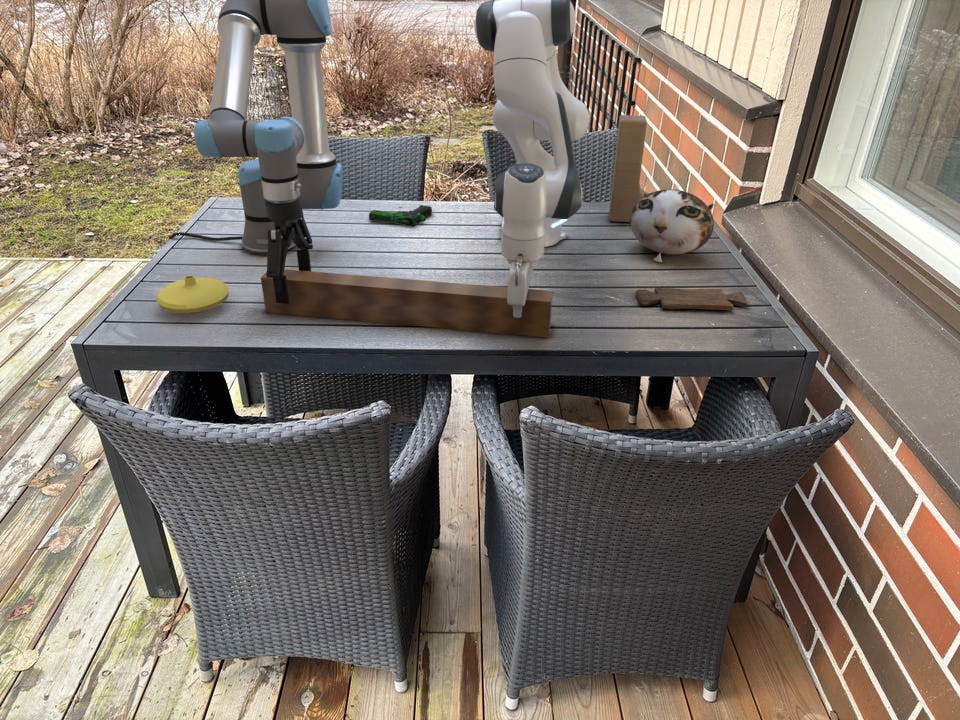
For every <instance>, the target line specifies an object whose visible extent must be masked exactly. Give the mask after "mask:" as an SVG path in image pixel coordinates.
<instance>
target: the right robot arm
mask: <svg viewBox="0 0 960 720" xmlns="http://www.w3.org/2000/svg"><path fill="white" fill-rule="evenodd" d="M475 14H476V15H475V18H474V33H475V37H476V39H477V41H478V44H479V46H480V47H481V48H482V49H484V51H487V52H492V53H493V65H492V67H493V70H492V71H493V85H494V93H495V95H496V97H497V101H496V102H495V104H494V107H493V111H492V121H493V124H494V127H495V129H496V130H497V132H499V133H500V134H501V135H502V136H503V137H504V139H505V140H506V141H507V142H508V145H509V146H510V148H511V150H512V153H513V156H514V158H515V164H513V165H511V166H510V167H509V168H508V169H507V171H503V173H501V174H500V175H499V176H498V177H497V178H496V179H495V181H494V182H493V186H494V191H495V192H494V202H493V210H494V211H495V212H496V213H497V214H498V215H499V216H500V217H501V218H503V220H502V221H501V228H500V229H501V230H500V232H501V233H500V241H501V243H500V244H501V247H500V248H501V249H500V250H501V251H500V253H501V255H502V257H503V258H505V259H506V262H507V264H509V265H510V267H509V271H508V278H507V287H508V291H507V303H508V305H511V306H513V317H516V318H520V317H521V316H522V306H524V305H525V301H526V297H527V293H528V289H530V285H531V280H532V276H533V272H534V268H535V265H536V264H537V263H538V260H540V259H542V258H543V257H544V255H545V248H547V247H551V246H554V245H556V244H558V243H559V242H560V241H561V240H565V239H566V238H567V234H566V233H565V232H564V231H563V230H562V224H563V223H565V222H566V221H568V219H570V218H571V217H573V216H574V215H575V214H576V213H577V212H579V210H580V209H581V207H582V203H583V196H584V195H583V187H582V183H581V180H580V175H579V172H578V168H577V163H576V158H575V152H574V146H573V142H577V141H580V140H581V139H582V138H583V137H584V136H585V134H586V133H587V132H588V129H589V125H590V113H589V110H588V108H587V106H586V104H585V103H584V102H582V101H581V100H579V99H578V97H576V96H575V95H574V94H572V92H570V90H569V89H568V88H567V86H566V84H565V83H564V82H563V80H562V77H561V75H560V70H559V65H558V56H557V47H559V46H562V45H564V44H566V43H568V42H569V41H570V40H571V38H572V37H573V33H574V31H575V27H576V22H577V21H576V20H577V17H576V10H575V7H574V4H573V3H572V0H486V1H484V2H481V4H480V5H479V6H478V8H477V9H476V12H475ZM540 141H546V142H547V141H548V142H550V145H551V151H552V154H551V153H549V152H548V151H546V150H545V149H544V148H543V146H542V144H541V142H540Z"/></svg>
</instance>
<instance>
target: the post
mask: <svg viewBox="0 0 960 720" xmlns="http://www.w3.org/2000/svg"><path fill="white" fill-rule="evenodd" d="M266 274H267V271H266V272H264V274H262V275H261V276H260V283H261V290H262V296H263V297H262V298H263V302H264V309H265V313H271V314H280V315H292V316H304V317H314V318H325V319H335V320H336V319H337V320H346V321H347V320H349V321H357V322H358V321H359V322H369V323H370V322H371V323H379V324H380V323H381V324H393V325H404V326H415V327H425V328H438V329H449V330H458V331H459V330H460V331H470V332H480V333H481V332H482V333H491V334H503V335H504V334H505V335H514V336H526V337H537V338H547V339H548V338H549V337H550V331H551V324H552V312H553V298H554V291H553V290H546V289H545V290H544V289H533V288H529V289H528V293H527V297H526V301H525V305H524V306H522V316H521V317H520V318H516V317H513V306H511V305H508V303H507V291H508V286H496V285H484V284H472V283H459V282H447V281H433V280H422V279H412V278H411V279H410V278H399V277H397V278H396V277H386V276H375V275H374V276H373V275H361V274H349V273H339V272H338V273H336V272H323V271H313V270H311V271H301V270H299V269H289V268H285V269H284V275H286V280H287V287H288V295H289V302H290V303H289V304H282V303H276V297H275V290H274V283H273V278H268V277H267V276H266Z"/></svg>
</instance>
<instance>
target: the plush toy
mask: <svg viewBox="0 0 960 720" xmlns="http://www.w3.org/2000/svg"><path fill="white" fill-rule="evenodd" d="M649 193H650V194H648V195H647V194H644V197H643V198H641V199H640V200H639V201H638V202H637V203H636V205H635V206H634V208H633V210H632V212H631V216H630V222H629V223H630V228H631V231H632V233H633V235H634V236H635V238H636V239H637V240H638V242H639V243H641V245H643V246H644V247H646V248H648V249H649V250H651V251H654V252H656V253H658V254H657V256H656V257H654V258H653V259H652V261H654V262H658V263H663V260H662V256H661V254H663V255H668V256H669V255H670V256H671V255H672V256H680V255H685V254H690V253H693V252H695V251H697V250H698V249H700V248H702V247H703V246H704V245H706V244H707V243H708V241H709V240H710V238H711V237H712V234H713V232H714V229H715V220H714V216H713V213H712V211H711V210H712V209H713V207H714V206H715V205H714V203H711V204H709V205H707V204H706V203H705V202H704V201H703V200H702V199H701V198H699V197H698V196H696V195H694V194H692V193H691V192H687V191H684V190H680V189H674V188H673V189H671V188H669V189H668V188H667V189H659V190H656V191H652V192H649Z"/></svg>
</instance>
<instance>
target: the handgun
mask: <svg viewBox="0 0 960 720" xmlns="http://www.w3.org/2000/svg"><path fill="white" fill-rule="evenodd" d="M432 213H433V208H432V206H430V205H423V204H419V206H418V207H416V208H414V209H413V210H409V211H403V210H402V211H400V210H399V211H395V212H393V211H386V210H385V211H384V210H383V211H382V210H378V209H377V210H376V209H373V210H371V211H370V212H369V213H368V220H369V221H374V222H383V223H391V224H398V225H402V226H406V227H416V226H418V225H420V223H423V222H426V220H427V218H426V217H429V216H432Z"/></svg>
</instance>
